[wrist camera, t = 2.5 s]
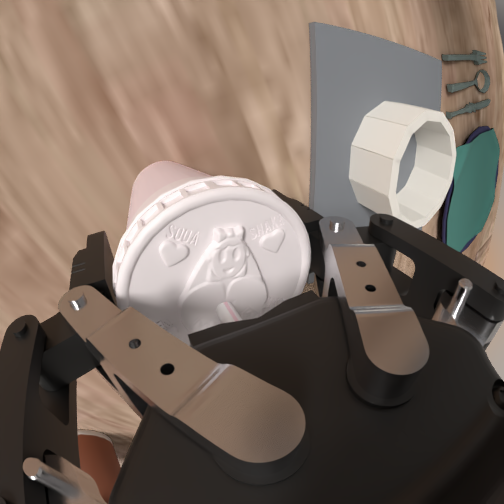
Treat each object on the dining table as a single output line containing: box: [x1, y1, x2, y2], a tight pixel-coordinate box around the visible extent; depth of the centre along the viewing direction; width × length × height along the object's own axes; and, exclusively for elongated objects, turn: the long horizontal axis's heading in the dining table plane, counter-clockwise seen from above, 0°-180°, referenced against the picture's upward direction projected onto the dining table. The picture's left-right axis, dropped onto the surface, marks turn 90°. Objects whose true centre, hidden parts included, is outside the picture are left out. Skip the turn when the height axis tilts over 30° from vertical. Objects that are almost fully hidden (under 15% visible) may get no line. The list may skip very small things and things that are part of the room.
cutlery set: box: [442, 50, 500, 253], centre depth 29 cm, size 20×30×2 cm, turn 16°
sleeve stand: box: [306, 22, 456, 284], centre depth 21 cm, size 20×16×5 cm
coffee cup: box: [77, 429, 121, 504], centre depth 19 cm, size 9×9×12 cm
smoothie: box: [112, 161, 311, 346], centre depth 11 cm, size 6×6×14 cm
